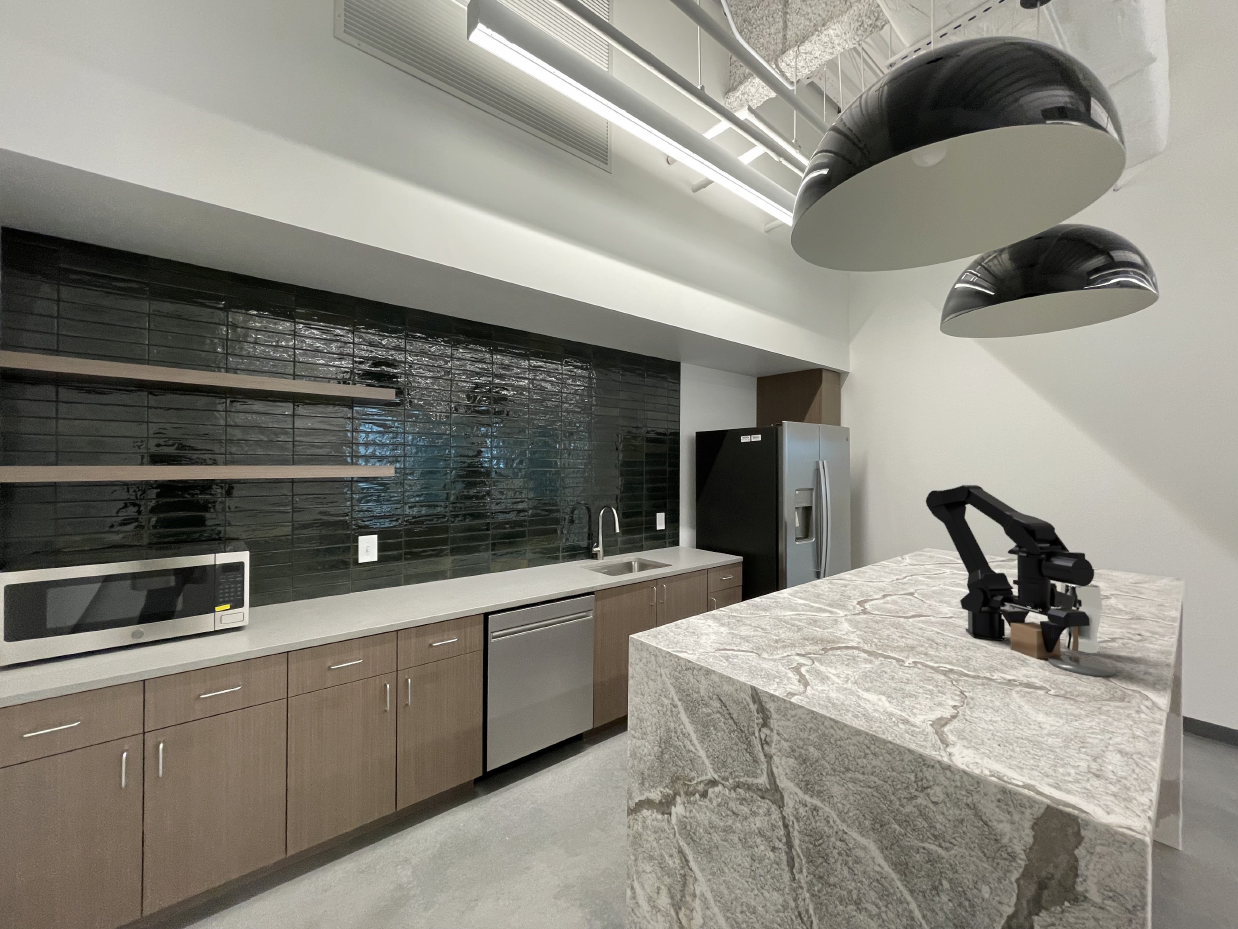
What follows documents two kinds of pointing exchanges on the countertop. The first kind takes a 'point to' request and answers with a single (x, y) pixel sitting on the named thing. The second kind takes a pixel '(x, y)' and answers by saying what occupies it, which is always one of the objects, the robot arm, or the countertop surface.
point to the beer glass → (1091, 604)
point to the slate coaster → (1081, 666)
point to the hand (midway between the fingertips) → (1035, 647)
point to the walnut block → (1030, 640)
